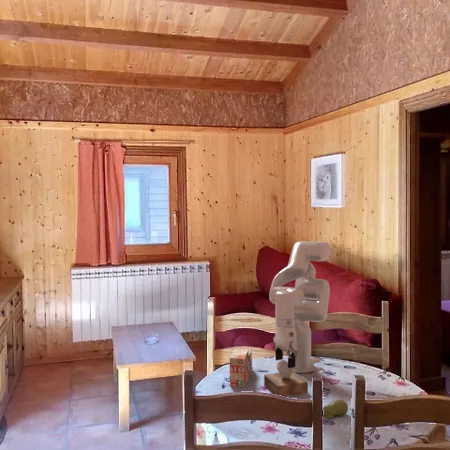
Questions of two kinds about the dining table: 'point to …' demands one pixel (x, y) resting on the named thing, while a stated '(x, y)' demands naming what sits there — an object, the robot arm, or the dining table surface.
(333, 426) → the dining table surface
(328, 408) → the pear
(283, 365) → the frog figurine
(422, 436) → the dining table surface
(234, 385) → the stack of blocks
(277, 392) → the walnut block
